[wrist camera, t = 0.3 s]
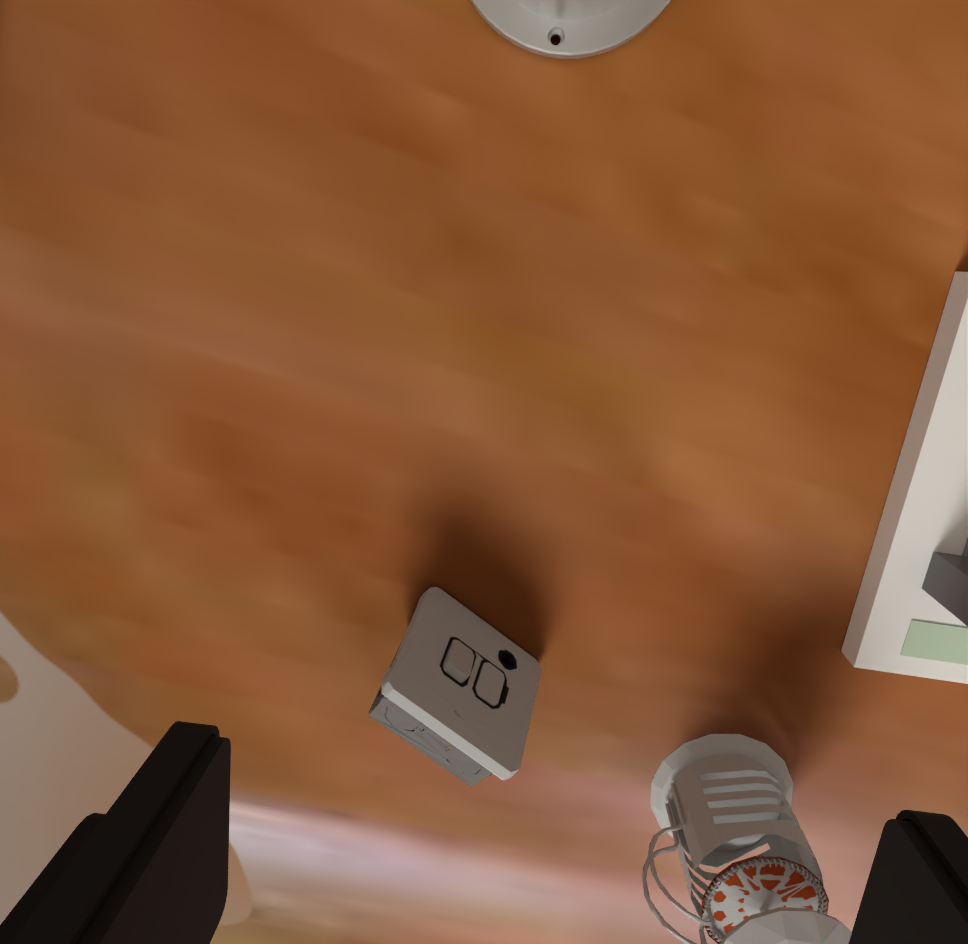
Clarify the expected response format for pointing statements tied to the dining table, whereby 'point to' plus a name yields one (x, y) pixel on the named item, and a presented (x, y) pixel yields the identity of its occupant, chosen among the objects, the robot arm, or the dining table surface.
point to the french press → (740, 845)
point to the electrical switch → (459, 691)
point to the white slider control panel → (924, 527)
